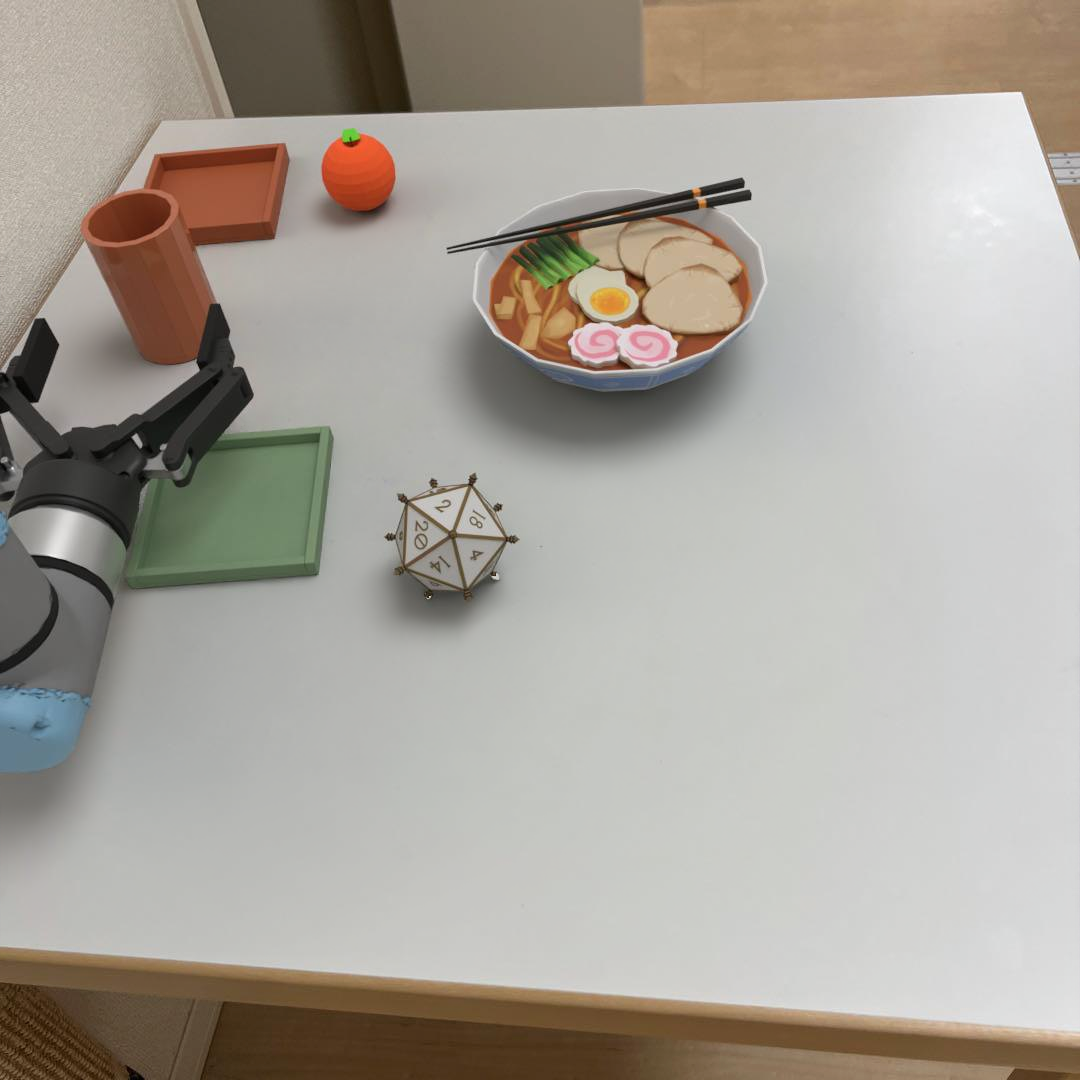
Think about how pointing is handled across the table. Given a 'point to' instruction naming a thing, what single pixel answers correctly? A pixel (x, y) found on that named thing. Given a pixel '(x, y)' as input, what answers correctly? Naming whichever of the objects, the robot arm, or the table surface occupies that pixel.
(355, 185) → the clementine
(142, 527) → the sage tray
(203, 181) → the terracotta tray
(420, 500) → the game die
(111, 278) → the terracotta cup
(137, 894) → the table surface
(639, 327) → the ramen bowl
